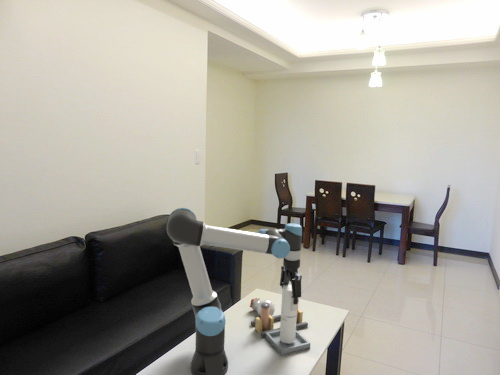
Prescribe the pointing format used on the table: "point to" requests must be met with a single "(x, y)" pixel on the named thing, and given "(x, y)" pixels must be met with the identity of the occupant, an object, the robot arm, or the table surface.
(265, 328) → the cylinder
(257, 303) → the potion bottle
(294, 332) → the cylindrical container
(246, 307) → the table surface
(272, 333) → the tray
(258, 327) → the fuse holder
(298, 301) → the fuse
